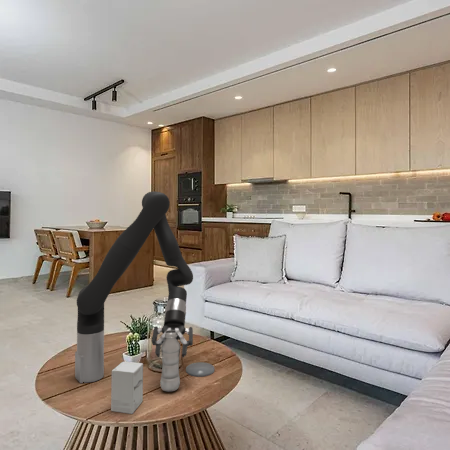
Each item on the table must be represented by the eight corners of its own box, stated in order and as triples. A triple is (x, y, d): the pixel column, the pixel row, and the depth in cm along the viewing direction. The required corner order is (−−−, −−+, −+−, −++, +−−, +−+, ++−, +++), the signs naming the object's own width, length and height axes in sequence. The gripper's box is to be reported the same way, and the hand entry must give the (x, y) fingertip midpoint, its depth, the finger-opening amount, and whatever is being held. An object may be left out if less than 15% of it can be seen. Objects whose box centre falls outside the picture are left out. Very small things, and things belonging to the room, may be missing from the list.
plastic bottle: (158, 387, 123) (158, 330, 123) (177, 383, 126) (177, 327, 125) (162, 395, 117) (163, 335, 117) (182, 392, 120) (183, 333, 120)
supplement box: (133, 414, 106) (133, 372, 106) (110, 411, 108) (110, 370, 107) (143, 401, 114) (143, 362, 113) (122, 399, 115) (122, 360, 115)
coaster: (196, 379, 129) (196, 377, 129) (180, 369, 138) (180, 367, 138) (220, 371, 137) (220, 369, 137) (203, 361, 145) (203, 360, 145)
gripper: (155, 308, 130) (148, 351, 118) (194, 308, 130) (190, 352, 118) (157, 318, 135) (151, 360, 124) (195, 318, 135) (192, 361, 124)
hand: (170, 356), depth 121 cm, fingers open, 8 cm apart
